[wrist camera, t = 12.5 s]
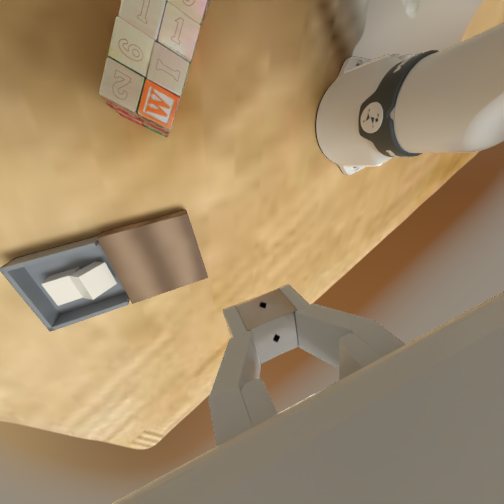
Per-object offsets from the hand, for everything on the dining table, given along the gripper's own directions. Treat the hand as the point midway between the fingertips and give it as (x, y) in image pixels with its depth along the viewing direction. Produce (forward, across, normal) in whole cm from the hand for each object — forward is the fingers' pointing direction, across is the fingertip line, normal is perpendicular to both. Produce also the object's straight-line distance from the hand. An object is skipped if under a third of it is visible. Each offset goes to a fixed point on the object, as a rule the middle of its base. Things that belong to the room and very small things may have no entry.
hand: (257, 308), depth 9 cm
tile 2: (+29, +18, +8) cm, 35 cm away
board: (+31, +7, +8) cm, 33 cm away
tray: (+31, +20, +8) cm, 38 cm away
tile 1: (+28, +21, +8) cm, 36 cm away
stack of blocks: (+32, -3, -19) cm, 37 cm away
